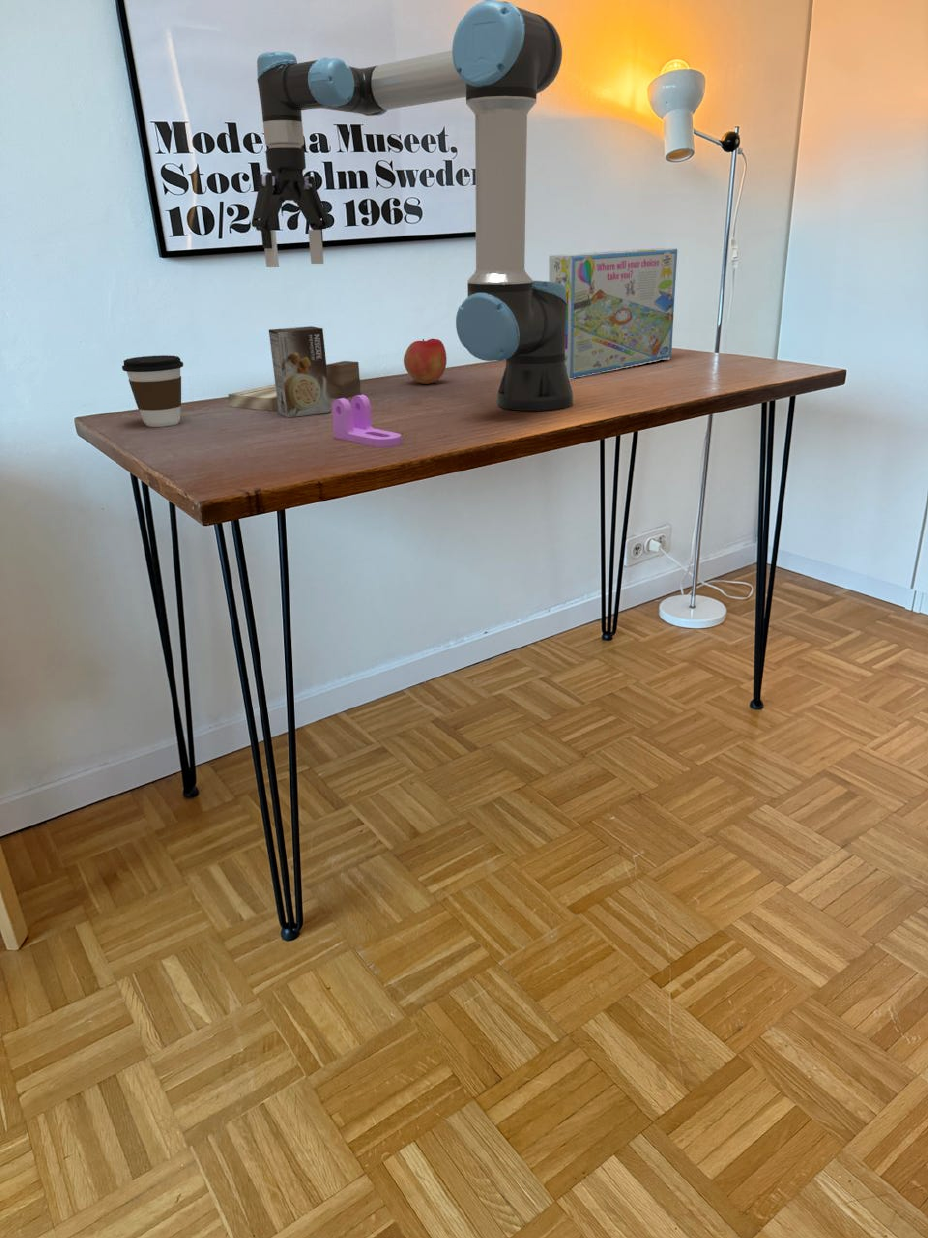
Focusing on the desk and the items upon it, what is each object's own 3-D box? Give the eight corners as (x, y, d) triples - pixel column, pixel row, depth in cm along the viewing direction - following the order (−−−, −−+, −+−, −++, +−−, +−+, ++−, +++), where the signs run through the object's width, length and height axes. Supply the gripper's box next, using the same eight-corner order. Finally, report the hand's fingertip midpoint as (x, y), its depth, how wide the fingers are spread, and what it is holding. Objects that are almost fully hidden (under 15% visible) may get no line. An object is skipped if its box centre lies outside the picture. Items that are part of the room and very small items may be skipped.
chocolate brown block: (360, 394, 190) (358, 361, 187) (343, 399, 185) (340, 365, 182) (312, 390, 197) (308, 358, 194) (294, 394, 192) (290, 362, 189)
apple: (440, 379, 207) (438, 335, 203) (452, 384, 199) (450, 339, 195) (401, 381, 204) (398, 337, 200) (411, 387, 196) (409, 342, 192)
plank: (353, 390, 194) (352, 379, 193) (272, 411, 174) (270, 397, 173) (312, 387, 200) (311, 376, 199) (230, 406, 180) (228, 393, 179)
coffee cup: (158, 431, 158) (147, 364, 153) (120, 426, 164) (107, 361, 159) (204, 420, 167) (194, 356, 162) (165, 416, 172) (155, 353, 167)
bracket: (334, 438, 150) (330, 398, 147) (359, 433, 154) (356, 393, 151) (383, 449, 142) (380, 406, 139) (408, 443, 145) (406, 401, 142)
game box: (649, 358, 230) (656, 247, 219) (671, 361, 226) (679, 247, 215) (547, 377, 206) (548, 253, 195) (569, 380, 201) (572, 253, 190)
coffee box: (321, 408, 176) (313, 325, 170) (331, 413, 171) (324, 327, 164) (277, 413, 172) (267, 328, 166) (286, 418, 167) (277, 331, 161)
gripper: (312, 152, 180) (321, 262, 188) (223, 144, 160) (238, 267, 169) (340, 149, 176) (348, 262, 185) (253, 141, 157) (266, 267, 165)
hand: (295, 265), depth 177 cm, fingers open, 13 cm apart
